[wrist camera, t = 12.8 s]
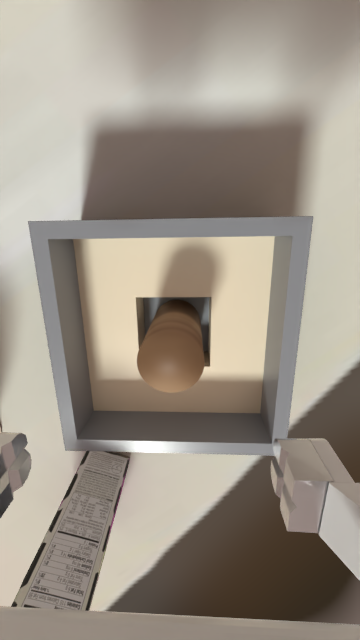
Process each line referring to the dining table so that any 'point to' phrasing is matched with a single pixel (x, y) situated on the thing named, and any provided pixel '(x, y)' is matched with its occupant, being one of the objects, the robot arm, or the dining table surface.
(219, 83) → the dining table surface
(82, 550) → the candy bar box
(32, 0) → the dining table surface
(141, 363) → the peg
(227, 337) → the open-top box
